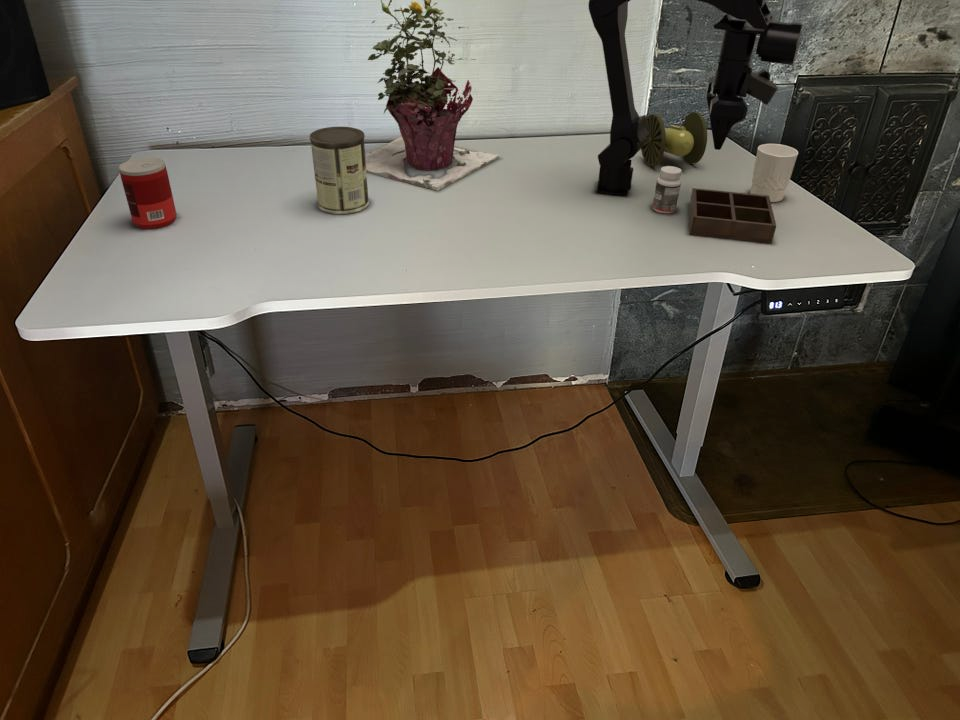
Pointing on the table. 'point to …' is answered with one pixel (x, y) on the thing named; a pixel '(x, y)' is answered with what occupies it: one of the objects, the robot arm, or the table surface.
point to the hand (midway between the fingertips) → (716, 141)
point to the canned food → (148, 192)
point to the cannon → (675, 139)
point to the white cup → (773, 170)
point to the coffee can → (340, 169)
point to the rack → (731, 215)
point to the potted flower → (422, 109)
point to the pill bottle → (667, 190)
